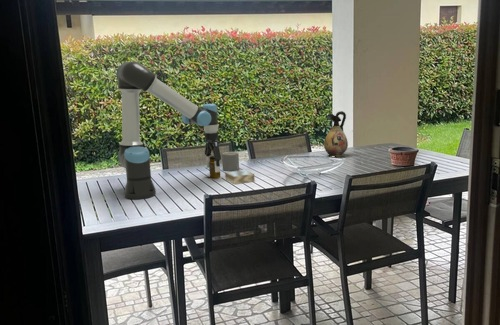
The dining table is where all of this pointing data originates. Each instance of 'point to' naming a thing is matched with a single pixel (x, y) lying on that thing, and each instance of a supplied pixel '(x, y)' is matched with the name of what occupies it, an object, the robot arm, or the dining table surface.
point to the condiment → (213, 170)
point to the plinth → (239, 176)
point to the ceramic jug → (336, 137)
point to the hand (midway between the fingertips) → (213, 169)
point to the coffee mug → (230, 161)
